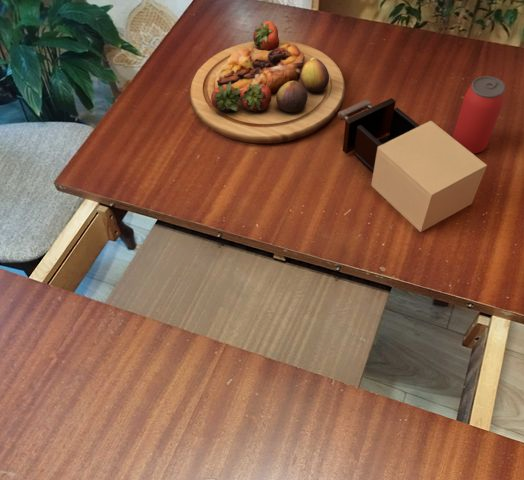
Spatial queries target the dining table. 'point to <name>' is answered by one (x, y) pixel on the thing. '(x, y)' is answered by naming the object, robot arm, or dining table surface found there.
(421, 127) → the tan box
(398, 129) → the dark brown piece
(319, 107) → the wooden plate
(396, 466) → the dining table surface
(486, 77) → the beer can
